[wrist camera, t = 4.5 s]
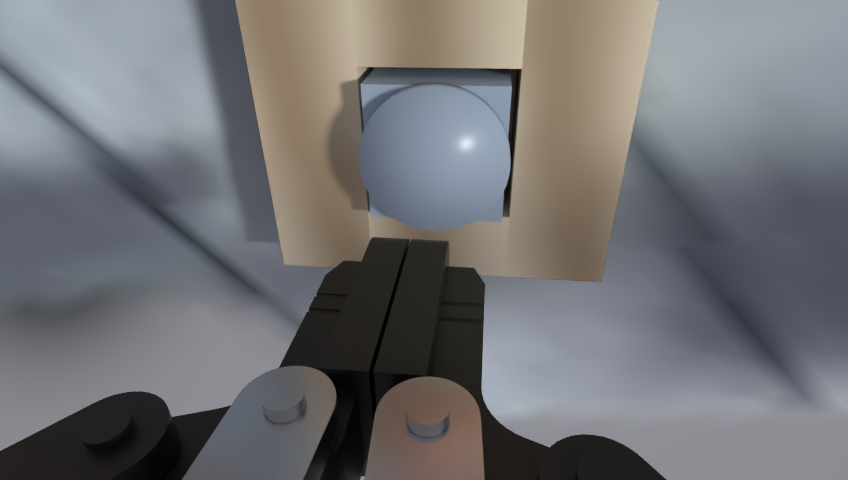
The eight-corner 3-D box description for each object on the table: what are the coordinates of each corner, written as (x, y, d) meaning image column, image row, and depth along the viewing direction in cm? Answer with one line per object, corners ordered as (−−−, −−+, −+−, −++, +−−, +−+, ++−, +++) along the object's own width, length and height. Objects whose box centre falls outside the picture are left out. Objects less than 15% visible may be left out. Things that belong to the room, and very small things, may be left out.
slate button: (512, 63, 17) (516, 88, 14) (502, 191, 19) (504, 233, 16) (374, 62, 17) (352, 85, 14) (382, 186, 19) (363, 227, 17)
